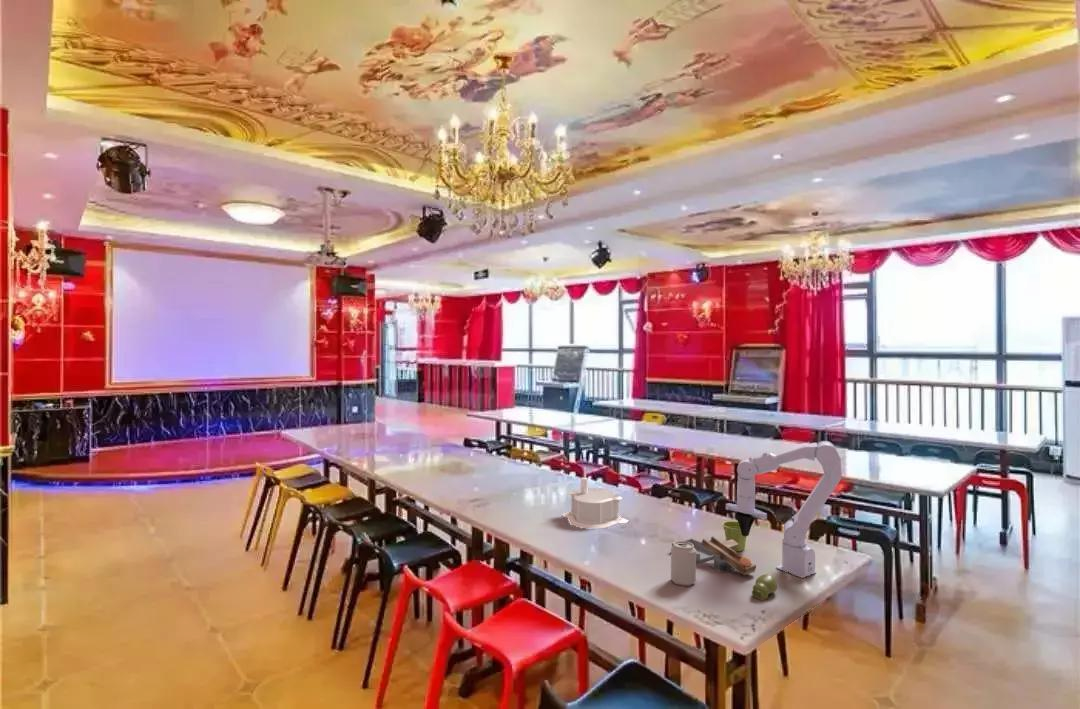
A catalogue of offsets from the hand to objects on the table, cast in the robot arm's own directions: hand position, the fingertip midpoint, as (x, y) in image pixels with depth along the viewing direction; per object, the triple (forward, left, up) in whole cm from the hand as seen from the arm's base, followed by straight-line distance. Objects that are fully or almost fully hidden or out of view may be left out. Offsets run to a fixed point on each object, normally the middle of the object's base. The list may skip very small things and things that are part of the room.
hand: (745, 535), depth 189 cm
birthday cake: (+65, +13, -10) cm, 67 cm away
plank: (0, +5, -6) cm, 8 cm away
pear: (-19, +16, -10) cm, 26 cm away
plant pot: (+10, -8, -10) cm, 16 cm away
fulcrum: (+1, +9, -9) cm, 13 cm away
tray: (+14, +9, -9) cm, 19 cm away
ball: (-7, +9, -5) cm, 12 cm away
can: (0, +30, -10) cm, 31 cm away
